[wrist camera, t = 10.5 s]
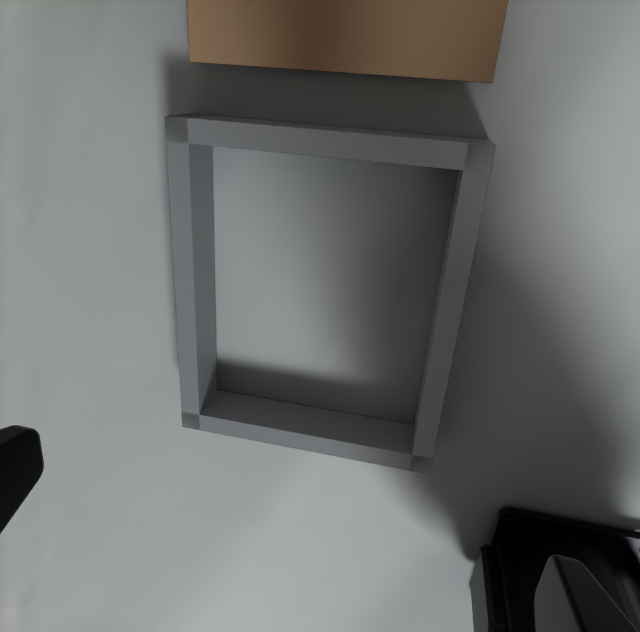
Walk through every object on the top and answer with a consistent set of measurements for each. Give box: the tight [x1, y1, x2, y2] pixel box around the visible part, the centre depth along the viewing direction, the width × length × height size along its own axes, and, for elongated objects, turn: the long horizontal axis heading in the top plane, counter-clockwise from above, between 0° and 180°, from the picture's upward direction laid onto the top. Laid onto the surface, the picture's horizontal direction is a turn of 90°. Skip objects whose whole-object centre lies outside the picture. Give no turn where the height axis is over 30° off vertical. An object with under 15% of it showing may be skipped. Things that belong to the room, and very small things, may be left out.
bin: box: [165, 114, 496, 474], centre depth 19 cm, size 11×13×2 cm
